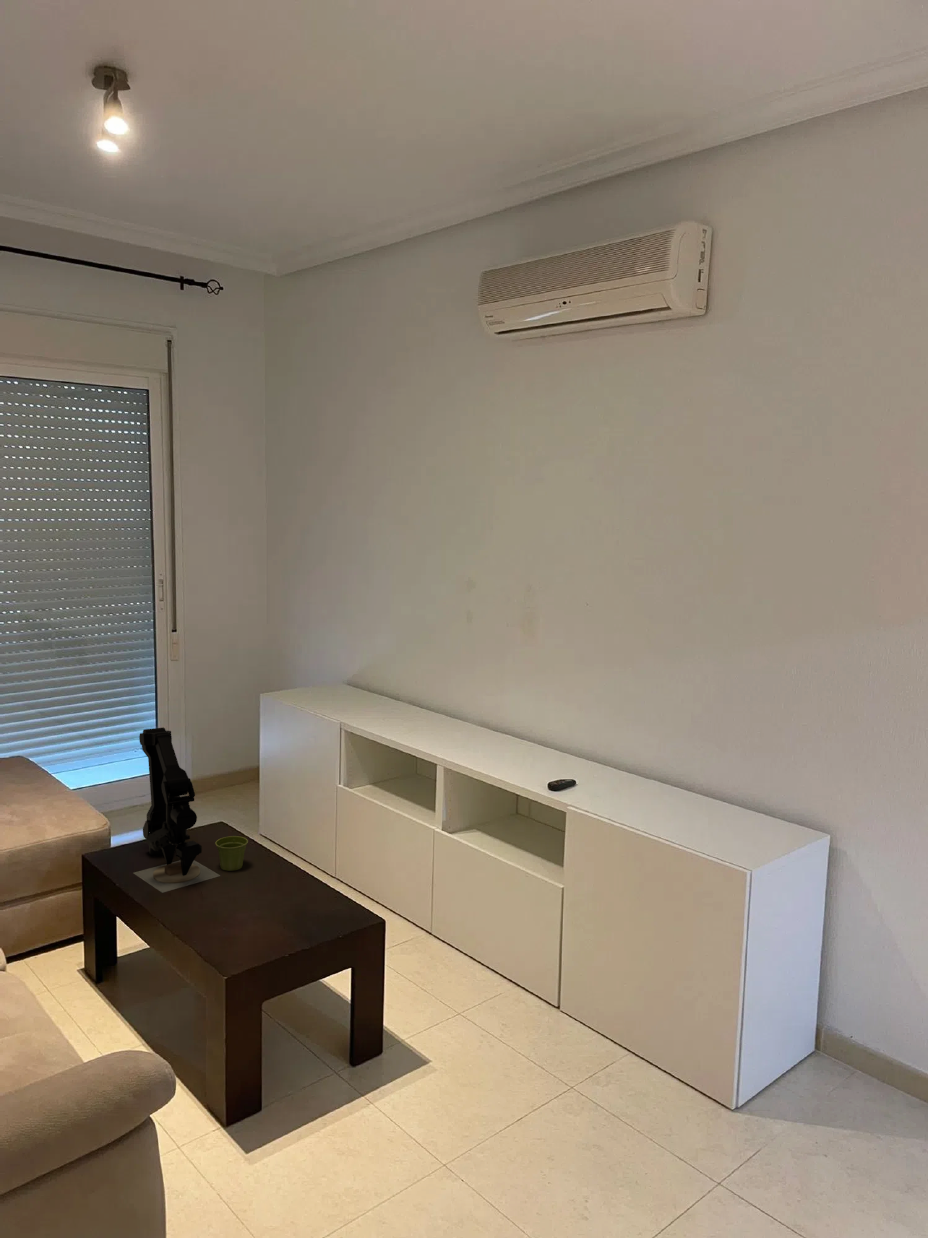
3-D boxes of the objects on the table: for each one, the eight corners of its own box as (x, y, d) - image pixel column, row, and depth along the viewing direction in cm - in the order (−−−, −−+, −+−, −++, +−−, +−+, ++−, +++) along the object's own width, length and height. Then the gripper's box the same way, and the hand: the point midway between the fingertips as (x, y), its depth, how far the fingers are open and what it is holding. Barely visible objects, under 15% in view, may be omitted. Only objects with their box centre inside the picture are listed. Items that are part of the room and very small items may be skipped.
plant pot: (250, 873, 267) (250, 845, 266) (217, 877, 263) (217, 849, 262) (245, 862, 275) (245, 834, 274) (213, 865, 272) (213, 838, 271)
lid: (145, 873, 262) (144, 863, 261) (186, 862, 271) (186, 852, 271) (166, 887, 253) (166, 877, 252) (208, 875, 262) (208, 865, 262)
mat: (132, 876, 262) (132, 873, 262) (189, 860, 275) (189, 857, 275) (162, 896, 249) (162, 892, 249) (220, 879, 262) (220, 875, 262)
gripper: (134, 816, 261) (135, 868, 263) (165, 833, 248) (166, 888, 250) (170, 808, 269) (171, 858, 270) (202, 824, 256) (202, 877, 257)
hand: (176, 870), depth 262 cm, fingers open, 9 cm apart
